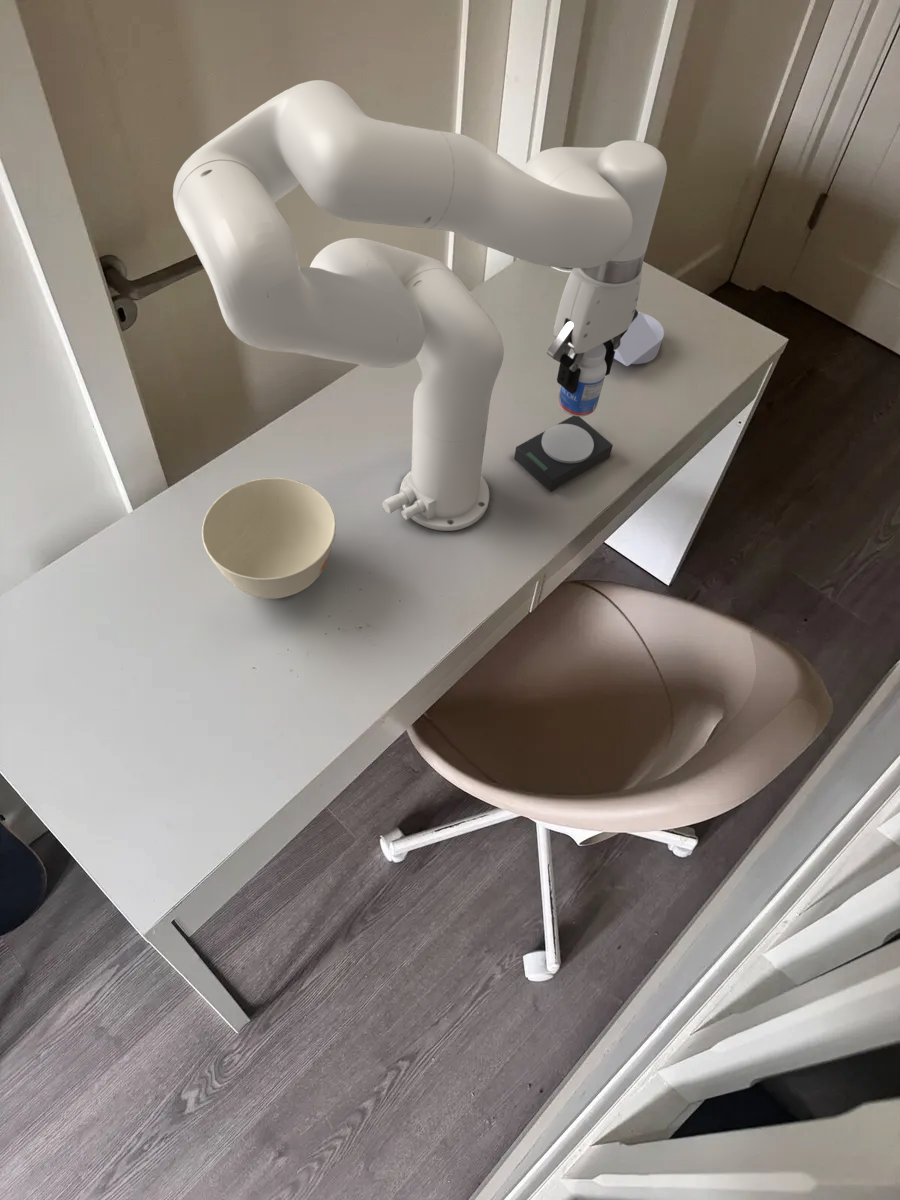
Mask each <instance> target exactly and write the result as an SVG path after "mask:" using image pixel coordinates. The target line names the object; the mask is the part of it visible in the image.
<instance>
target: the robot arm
mask: <svg viewBox="0 0 900 1200" xmlns="http://www.w3.org/2000/svg"><path fill="white" fill-rule="evenodd" d="M667 172H668V165H667V160H666V158H665V156H664V154H663V153H662V152H661V151H660V150H659V149H658V148H656V147H655V146H654V145H652V144H649V143H646V142H643V141H640V140H632V139H631V140H630V139H625V140H624V139H623V140H619V141H615V142H613V143H610V144H609V145H607V146H605V147H604V146H603V147H583V146H582V147H581V146H558V147H551V148H548V149H545V150H541V151H540V152H538V153H536V154H535V155H533V156H532V157H531V158H530V159H528V160H527V162H526V163H525V164H524V166H523V167H522V169H520V168H519V167H518V166H515V165H514V164H513V163H511V162H510V161H508V160H507V159H506V158H504V157H503V156H502V155H500V154H499V153H498V152H496V151H495V150H493V149H492V148H490V147H488V146H486V145H485V144H483V143H482V142H480V141H478V140H476V139H474V138H472V137H470V136H467V135H464V134H461V133H457V132H449V131H444V130H443V131H442V130H438V129H429V128H422V127H417V126H412V125H406V124H400V123H397V122H390V121H383V120H378V119H375V118H372V117H371V116H368V115H366V113H364V111H363V110H362V109H361V107H360V106H359V105H358V104H357V103H356V102H355V101H354V99H353V98H352V97H351V96H350V94H349V93H347V91H345V90H344V89H343V88H342V87H341V86H339V85H338V84H336V83H334V82H332V81H329V80H324V79H317V80H316V79H314V80H308V81H305V82H301V83H298V84H296V85H293V86H291V87H290V88H288V89H285V90H283V91H282V92H280V93H278V94H276V95H275V96H274V97H271V98H270V99H269V100H267V101H265V102H264V103H263V104H261V105H259V106H258V107H256V108H255V109H254V110H252V111H251V112H249V113H248V114H246V115H245V116H243V117H242V118H240V119H239V120H238V121H236V122H234V123H233V124H232V125H231V126H229V127H227V128H226V129H225V130H223V131H222V132H221V133H219V134H217V135H216V136H214V137H213V138H212V139H210V140H209V141H208V142H206V143H205V144H203V145H202V146H200V147H199V148H198V149H197V150H196V151H194V152H193V153H192V154H191V155H190V156H189V157H188V158H187V159H186V160H185V162H183V164H182V166H181V167H180V168H179V170H178V172H177V174H176V177H175V179H174V183H173V190H172V191H173V192H172V199H173V207H174V210H175V213H176V215H177V216H176V217H177V218H178V221H179V223H180V224H181V227H182V228H183V230H184V232H185V234H186V236H187V237H188V239H189V241H190V243H191V245H192V247H193V249H194V251H195V253H196V255H197V257H198V259H199V261H200V263H201V264H202V267H203V268H204V270H205V272H206V274H207V276H208V279H209V281H210V283H211V286H212V289H213V291H214V295H215V297H216V300H217V304H218V307H219V310H220V312H221V315H222V318H223V320H224V322H225V325H226V326H227V328H228V329H229V330H230V331H231V333H232V334H233V335H234V336H235V337H236V338H237V339H238V340H239V341H241V342H243V343H244V344H246V345H248V346H249V347H252V348H255V349H260V350H264V351H271V352H281V353H292V354H293V353H294V354H300V355H305V356H311V357H316V358H319V359H325V360H330V361H336V362H342V363H348V364H353V365H358V366H365V367H368V368H375V369H376V368H377V369H393V368H399V367H402V366H405V365H406V364H409V363H411V362H412V361H413V360H414V359H416V362H417V363H418V365H419V368H420V371H421V380H420V382H419V383H418V384H417V386H416V388H415V390H414V395H413V401H412V435H411V436H412V439H411V441H412V443H411V470H409V471H408V472H407V473H406V474H405V476H404V478H403V479H402V481H401V484H400V486H399V487H400V489H399V492H398V493H397V494H395V495H394V494H393V495H391V496H390V497H387V498H386V499H384V500H382V502H381V504H382V508H383V510H384V511H385V513H387V515H388V514H391V513H393V512H395V511H397V510H399V509H401V507H402V509H401V511H400V513H401V516H402V518H403V519H404V520H405V521H407V520H409V519H411V520H412V521H414V522H415V523H417V524H419V525H421V526H423V527H425V528H427V529H431V530H436V531H443V532H446V531H457V530H462V529H465V528H468V527H470V526H472V525H473V524H476V523H477V522H478V521H479V520H480V519H481V518H482V517H483V516H484V515H485V513H486V511H487V509H488V507H489V502H490V489H489V485H488V482H487V481H486V479H485V478H484V476H483V475H482V469H483V460H484V453H485V447H486V446H485V444H486V436H487V429H488V420H489V413H490V412H489V411H490V404H491V400H492V399H491V398H492V395H493V394H492V393H493V390H494V386H495V383H496V380H497V378H498V376H499V372H500V370H501V368H502V365H503V361H504V356H505V347H504V341H503V338H502V336H501V333H500V331H499V329H498V327H497V326H496V324H495V322H494V321H493V319H492V318H491V316H490V315H489V313H488V312H487V311H486V310H485V308H483V306H482V305H481V303H480V302H479V301H478V299H476V298H475V296H474V295H473V294H472V293H471V292H470V290H469V289H468V288H467V287H466V285H465V284H464V283H463V282H462V280H461V279H460V278H459V277H458V276H457V275H456V273H455V272H454V271H453V270H452V269H451V268H450V267H449V266H448V265H446V264H445V263H443V262H442V261H440V260H438V259H436V258H433V257H430V256H427V255H424V254H421V253H419V252H418V253H417V252H414V251H410V250H407V249H403V248H400V247H397V246H393V245H391V244H386V243H383V242H381V241H376V240H372V239H368V238H363V237H348V238H343V239H339V240H336V241H334V242H332V243H330V244H328V245H326V246H325V247H324V248H322V249H321V250H320V251H318V253H317V254H316V255H315V257H314V258H313V259H312V261H311V263H310V266H301V267H300V260H299V256H298V251H297V247H296V242H295V240H294V237H293V234H292V231H291V229H290V227H289V225H288V223H287V221H286V220H285V219H284V217H283V214H281V212H280V211H279V209H278V207H277V206H276V202H278V201H279V200H281V199H282V198H283V197H284V196H287V194H290V192H292V191H293V190H295V189H296V188H297V187H299V186H301V187H302V189H303V190H304V191H305V193H306V194H307V196H308V197H309V198H310V199H311V200H312V202H313V203H314V204H315V205H316V206H317V207H318V208H319V209H320V210H321V211H323V212H324V213H326V214H327V215H329V216H331V217H333V218H336V219H339V220H343V221H347V222H354V223H355V222H356V223H364V224H373V225H387V226H396V227H406V228H407V227H408V228H416V229H427V230H437V231H446V232H452V233H454V234H456V235H459V236H461V237H464V238H465V239H467V240H469V241H472V242H474V243H476V244H478V245H481V246H484V247H488V248H490V249H492V250H495V251H498V252H500V253H503V254H506V255H508V256H511V257H513V258H516V259H517V260H521V261H524V262H528V263H531V264H535V265H539V266H543V267H551V268H563V269H572V270H571V271H570V274H569V275H568V278H567V280H566V283H565V285H564V289H563V292H562V294H561V297H560V301H559V304H558V308H557V312H556V316H555V321H554V324H553V332H552V336H553V337H554V340H553V342H552V343H551V345H550V346H549V347H548V349H547V350H546V354H547V355H548V356H549V357H550V358H551V359H553V360H554V361H556V362H558V363H559V366H558V372H557V376H556V382H557V384H559V385H560V387H561V386H562V387H564V388H565V389H566V390H567V391H568V392H570V393H571V394H573V393H575V392H576V390H577V386H578V381H579V377H580V372H581V369H580V368H579V364H580V362H581V360H582V358H583V356H584V353H585V352H586V351H588V350H590V349H592V348H595V347H597V346H598V345H600V344H603V345H604V346H605V348H606V354H605V359H604V360H605V362H606V365H607V370H606V374H605V377H608V376H609V375H610V373H611V370H612V367H613V363H614V360H615V359H614V355H615V351H614V350H616V349H618V347H619V346H620V343H621V341H620V339H621V338H622V336H623V335H624V334H625V333H626V332H627V330H628V328H629V326H630V324H631V323H632V322H633V321H634V319H635V318H636V317H637V316H638V312H639V311H638V309H637V304H638V300H639V295H640V294H639V293H640V289H641V283H642V276H643V275H642V274H643V264H644V260H645V257H646V254H647V250H648V245H649V242H650V238H651V234H652V231H653V227H654V223H655V219H656V215H657V211H658V208H659V204H660V200H661V197H662V193H663V189H664V186H665V181H666V178H667V177H666V176H667ZM571 349H572V350H573V353H575V355H574V357H573V359H572V358H571V357H569V356H570V355H569V354H570V351H571Z"/></svg>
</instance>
